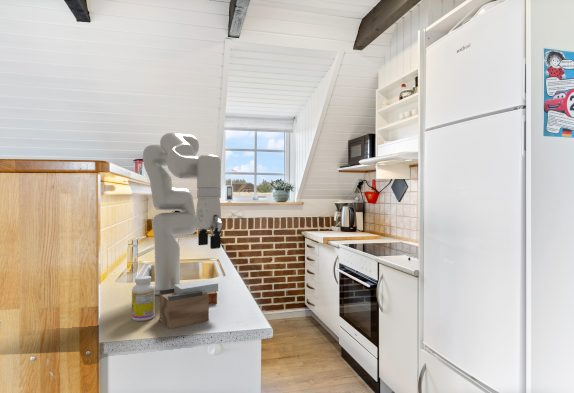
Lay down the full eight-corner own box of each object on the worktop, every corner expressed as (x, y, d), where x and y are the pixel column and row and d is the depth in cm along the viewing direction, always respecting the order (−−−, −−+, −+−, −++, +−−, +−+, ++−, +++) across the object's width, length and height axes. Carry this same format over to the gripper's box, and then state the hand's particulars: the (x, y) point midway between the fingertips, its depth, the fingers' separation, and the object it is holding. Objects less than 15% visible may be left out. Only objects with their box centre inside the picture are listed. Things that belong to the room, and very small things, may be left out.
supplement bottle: (136, 314, 115) (135, 275, 115) (157, 314, 115) (157, 274, 115) (128, 322, 108) (128, 280, 108) (151, 321, 109) (151, 279, 109)
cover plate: (174, 292, 112) (174, 284, 112) (209, 286, 119) (209, 279, 119) (181, 297, 106) (181, 289, 106) (218, 291, 113) (218, 283, 113)
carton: (193, 307, 124) (193, 294, 124) (191, 294, 139) (191, 283, 139) (217, 304, 126) (217, 292, 126) (212, 292, 142) (212, 282, 142)
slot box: (159, 319, 111) (159, 289, 111) (196, 311, 118) (196, 283, 118) (169, 328, 103) (169, 297, 103) (208, 320, 110) (208, 290, 110)
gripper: (188, 193, 120) (188, 244, 120) (208, 193, 105) (209, 251, 106) (209, 193, 124) (209, 242, 124) (231, 193, 110) (231, 248, 110)
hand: (209, 246), depth 115 cm, fingers open, 9 cm apart
